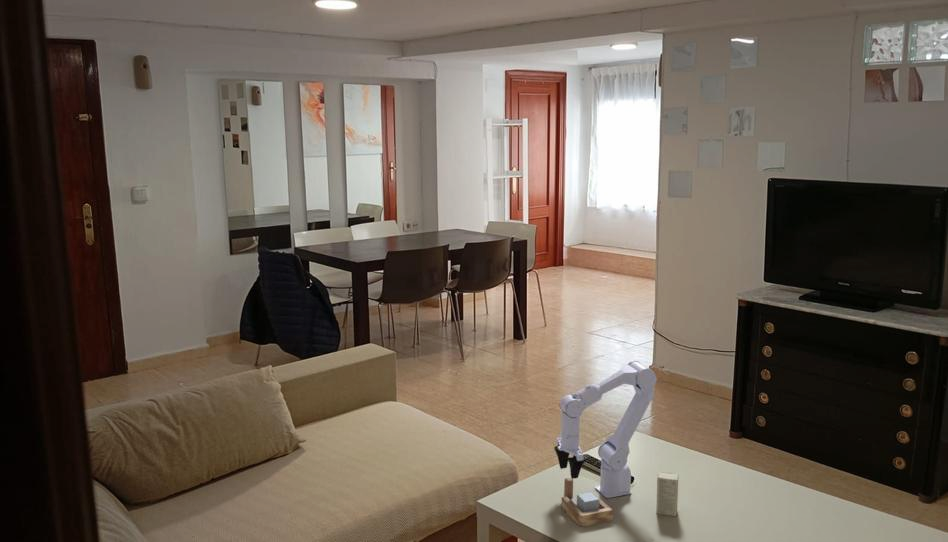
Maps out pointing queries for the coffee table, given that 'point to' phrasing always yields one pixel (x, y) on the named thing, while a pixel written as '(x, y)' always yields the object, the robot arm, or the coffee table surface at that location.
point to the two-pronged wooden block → (587, 517)
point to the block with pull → (581, 497)
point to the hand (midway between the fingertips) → (568, 472)
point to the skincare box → (667, 493)
